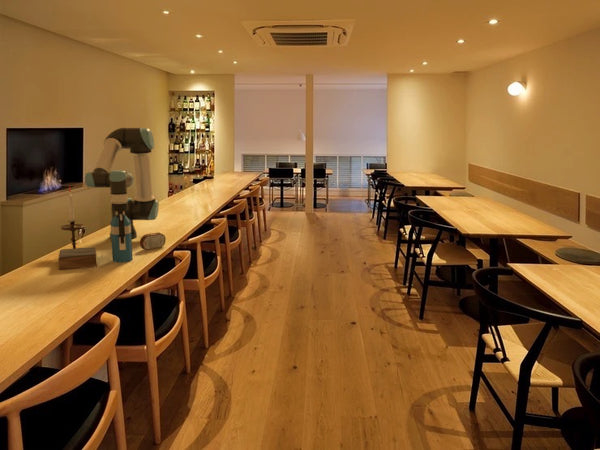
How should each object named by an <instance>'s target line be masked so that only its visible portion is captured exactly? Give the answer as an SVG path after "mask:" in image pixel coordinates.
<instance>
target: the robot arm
mask: <svg viewBox="0 0 600 450" xmlns="http://www.w3.org/2000/svg"><path fill="white" fill-rule="evenodd" d="M102 144H103V145H102V146H103V148H102V150H101V153H100V155H99V158H98V159H97V162H96V164H95V166H94V169H93V170H92V171H90V172H89V171H88V172H86V173H85V175H84V183H85V186H86V187H87V188H95V189H96V188H101V189H102V188H103V189H105V188H109V189H110V195H109V198H110V202H111V205H110V206H111V208H110V210H111V211H110V212H111V220H112V219H113V218H114V216H115V215H116V213H115V211H118V215H116V218H117V217H118V220H119V236H118V237H119V245H120V250H126V245H125V227H124V218H125V215H126V216H127V218H128V219H129V220H130V221H131V238H132V240H133V239H135V238H137V236H138V234H137V231H136V228H135V225H134V221H154V220H156V219H157V217H158V213H159V210H160V209H159V206H160V203H159V200H157V199H156V197H155V196H154V195H153V189H152V177H151V165H150V163H151V162H150V155H151V153H152V150H154V148H155V140H154V135H153V132H152V131H151V129H149V128H145V127H119V128H117V129H115V130H113V131H111V132H110V133H109V134H108V135H106V137H105V139H104V141H103V143H102ZM124 149H125V150H129V153H130V154H131V155H132V156H133V157H132V158H133V166H134V167H133V168H134V177H133V175H132V174H131V173H130V172H127V171H125V170H123V169H121V170H119V169H116V170H112V168H113V166H114V163H115V160H116V158H117V156H118V154H119V153H120V152H121V151H122V150H124ZM134 180H135V190H136V191H135V192H136V196H135V197H134V200H133V198H132V197H129V196H128V188H129V187H131V186H132V185H133V184H134ZM123 211H124V212H125V215H123ZM109 239H110V240H111V231H110V232H109Z"/></svg>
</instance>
